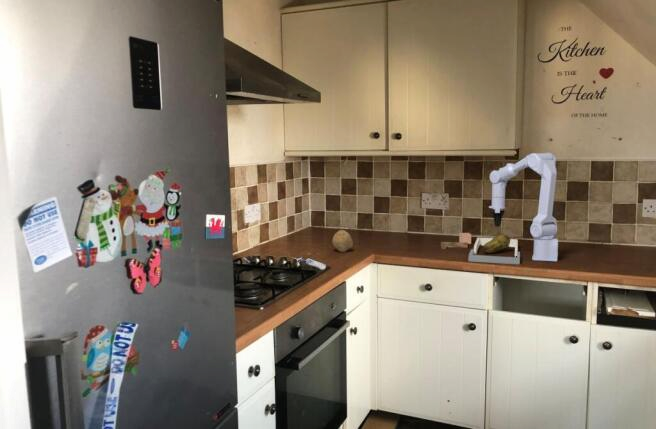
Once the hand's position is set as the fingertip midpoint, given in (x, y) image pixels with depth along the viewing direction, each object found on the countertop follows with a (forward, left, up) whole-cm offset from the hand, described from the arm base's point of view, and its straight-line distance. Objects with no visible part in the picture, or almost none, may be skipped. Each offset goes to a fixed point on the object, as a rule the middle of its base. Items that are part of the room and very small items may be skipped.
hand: (497, 226), depth 253 cm
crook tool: (+18, +5, -10) cm, 22 cm away
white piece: (0, +6, -10) cm, 12 cm away
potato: (0, +11, -10) cm, 15 cm away
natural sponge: (+66, +28, -10) cm, 72 cm away
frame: (0, +25, -10) cm, 27 cm away
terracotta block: (+15, -8, -10) cm, 20 cm away
